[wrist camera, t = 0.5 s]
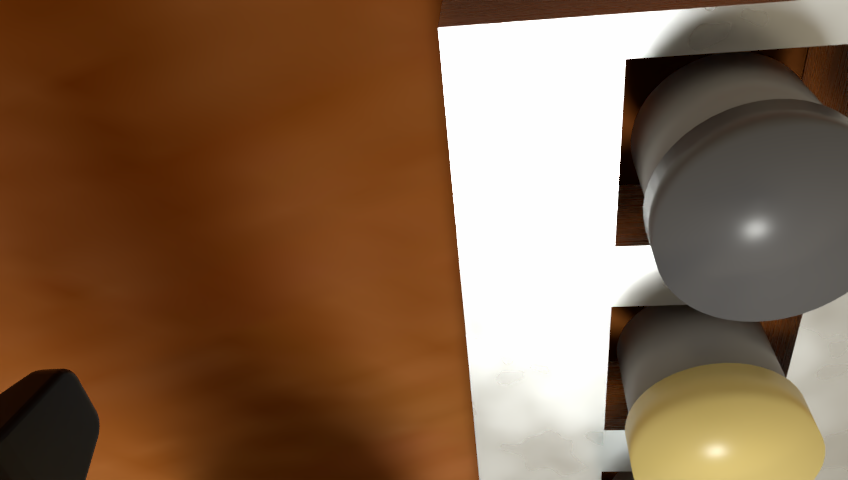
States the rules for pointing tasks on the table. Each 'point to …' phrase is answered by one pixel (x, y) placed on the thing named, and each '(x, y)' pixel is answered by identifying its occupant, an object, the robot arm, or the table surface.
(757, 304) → the button black
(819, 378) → the console panel
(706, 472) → the button mustard
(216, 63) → the table surface
